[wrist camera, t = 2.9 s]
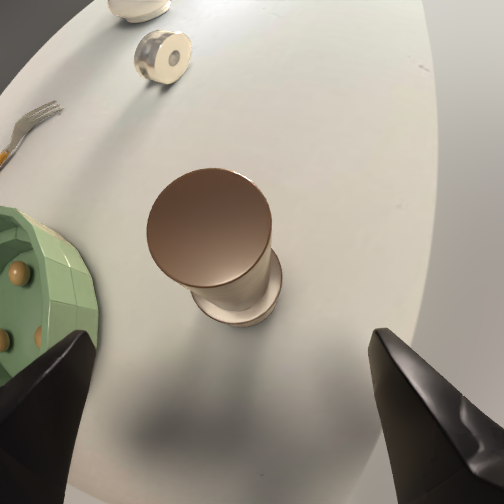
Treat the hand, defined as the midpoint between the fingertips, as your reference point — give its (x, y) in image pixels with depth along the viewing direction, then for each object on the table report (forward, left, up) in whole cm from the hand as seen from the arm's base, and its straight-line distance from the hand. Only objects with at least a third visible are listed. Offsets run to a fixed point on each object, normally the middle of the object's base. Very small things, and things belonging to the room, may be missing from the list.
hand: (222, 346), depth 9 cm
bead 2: (+6, +17, -9) cm, 20 cm away
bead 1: (+1, +20, -9) cm, 22 cm away
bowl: (+3, +17, -10) cm, 20 cm away
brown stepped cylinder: (+3, 0, -10) cm, 10 cm away
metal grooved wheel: (+24, +4, -10) cm, 26 cm away
